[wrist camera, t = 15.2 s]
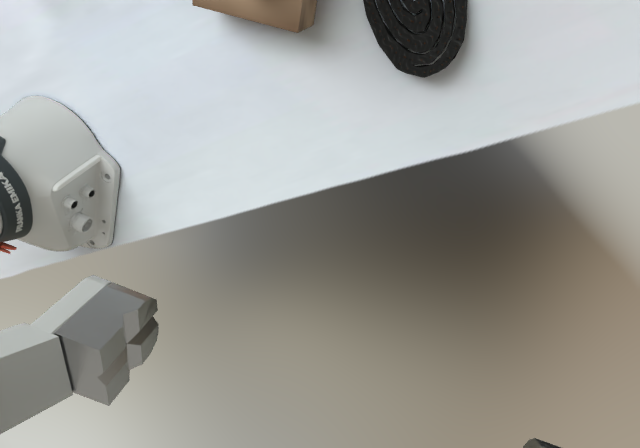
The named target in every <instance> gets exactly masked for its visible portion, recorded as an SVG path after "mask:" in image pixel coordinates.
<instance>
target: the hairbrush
mask: <svg viewBox="0 0 640 448" xmlns="http://www.w3.org/2000/svg"><path fill="white" fill-rule="evenodd" d="M363 1H364V6H365V11H366V16H367V18H368V21H369V23H370V25H371V28H372V30H373V33H374V35H375V37H376V40H377V42H378V44H379V46H380V47H381V48H382V50H383V51H384V52H385V54H386V55H387V56H388V58H389V59H390V60H391V62H392V63H393V64H394V66H395V67H396V68H397V69H398V70H400V71H402V72H405V73H407V74H412V75H416V76H420V77H424V78H425V77H427V76H430V75H432V74H435V73H437V72H439V71H440V70H442V69H444V68H446V67H447V66H448V65H449V64H450V62H451V61H452V60H453V59H454V58H455V57H456V55H457V53H458V51H459V49H460V47H461V45H462V43H463V41H464V35H465V27H466V21H467V0H455V8H456V17H457V18H456V26H455V29H454V32H453V36H452V39H451V41H450V43H449V45H448V47H447V49H446V51H445V52H444V53H443V54H442V56H441V57H440V58H439V59H438V60H437V61H436V62H435V63H433V64H430V65H420V66H415V65H417V64H429V63H431V62H433V61H434V60H435V59H436V58H437V57H438V56H439V55H440V54H441V53H442V52H443V50H444V49H445V47H446V45H447V43H448V41H449V39H450V37H451V35H452V31H453V24H454V16H455V8H454V0H444V2H445V25H444V29H443V31H442V34H441V30H442V25H443V21H444V11H443V1H442V0H431V1H432V21H431V23H430V25H429V27H428V30H427V31H426V32H425V33H422V34H416V33H412V32H411V31H410V30H412V31H413V32H423V31H424V30H425V29H426V28H427V26H428V24H429V22H430V19H431V3H430V0H415V1H414V0H413V1H414V2H413V1H412V0H402V1H403V2H404V4H405V5H406V7H407V9H408V10H409V11H408V10H407V9H406V8H405V7H404V6H403V7H404V8H405V9H404V8H403V7H402V3H401V2H400V0H390V3H391V6H392V8H393V10H394V11H395V13H396V14H397V16H398V17H399V19H400V20H401V22H402V23H403V24H402V23H401V22H400V21H399V20H398V19H397V17H396V16H395V15H394V12H392V11H393V10H391V9H392V8H391V6H390V4H389V2H388V0H376V1H377V5H378V8H377V7H376V3H375V0H363ZM377 9H379V11H380V13H381V15H382V17H383V19H384V21H385V23H386V24H387V26H388V28H389V29H388V28H387V26H386V25H385V23H384V22H383V20H382V18H381V16H380V13H379V11H378V10H377ZM422 10H424V11H423V12H422V13H420V14H419V15H415V16H414V15H412V14H411V13H410V12H412V13H418V12H420V11H422ZM405 26H406V27H405ZM408 28H409V29H410V30H409V29H408ZM440 34H441V37H440ZM394 37H395V38H396V39H397V40H398V41H399V42H401V43H402V44H403V45H404V46H405V47H404V46H403V45H401V44H400V43H399V42H397V40H396V39H395V38H394ZM439 38H440V40H439V42H438V44H437V46H436V47H435V48H434V49H433V50H432V51H430V52H429V53H427V54H420V53H422V52H426V51H428V50H430V49H432V48H433V47H434V45H435V43H436V42H437V41H438V39H439ZM408 49H410V50H413V51H416V52H419V53H414V52H411V51H410V50H408Z"/></svg>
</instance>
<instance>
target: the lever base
mask: <svg viewBox="0 0 640 448" xmlns="http://www.w3.org/2000/svg"><path fill="white" fill-rule="evenodd" d="M193 5H194V6H198V7H202V8H205V9H209V10H213V11H217V12H221V13H224V14H228V15H232V16H236V17H239V18H243V19H247V20H251V21H255V22H258V23H262V24H266V25H270V26H274V27H277V28H281V29H285V30H289V31H293V32H296V33H299V32H301V31H303V30H305V29H307V28H309V27H310V26H312V25H313V24H314V17H315V11H316V5H317V0H193Z"/></svg>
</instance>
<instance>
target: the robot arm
mask: <svg viewBox="0 0 640 448" xmlns="http://www.w3.org/2000/svg"><path fill="white" fill-rule="evenodd" d="M119 179H120V167H119V165H118V164H117V162H116V161H115V160H114V159H113V158H112V157H111V156H110V155H109V154H108V153H106V152H105V151H104V150H103V149H102V148H101V146H100V145H99V143H98V142H97V140H96V139H95V137H94V136H93V134H92V133H91V131H90V130H89V129H88V127H87V126H86V125H85V124H84V123H83V121H82V120H81V119H80V118H79V117H78V116H77V115H75V114H74V113H73V112H72V111H71V110H69V109H68V108H67V107H65V106H63V105H62V104H60V103H58V102H56V101H54V100H52V99H49V98H46V97H41V96H29V97H25V98H23V99H21V100H20V101H18V102H17V103H16V104H15V105H14V106H13V107H12V108H10V109H9V110H8V111H6V112H5V113H4V114H2V115H1V116H0V251H2V252H6V253H9V254H10V251H8V250H6V249H10V250H16V247H14V246H12V245H9V244H6V243H4V242H5V241H10V240H14V239H18V240H20V241H23V242H25V243H28V244H31V245H34V246H37V247H40V248H43V249H47V250H51V251H68V250H72V249H74V248H77V247H79V246H82V247H87V248H95V249H98V248H105V247H108V246H109V245H111V244H112V241H113V232H114V223H115V214H116V206H117V197H118V188H119ZM4 248H5V249H4ZM157 310H158V309H157V300H156V299H153V298H151V297H148V296H146V295H143V294H141V293H138V292H136V291H133V290H131V289H128V288H126V287H123V286H121V285H118V284H116V283H114V282H111V281H108V280H106V279H103V278H100V277H98V276H95V275H92V276H89V277H87V278H85V279H83V280H82V281H81V282H80V283H79V284H77V285H76V286H75V287H74V288H73V289H72V290H70V291H69V292H68V293H67V294H66V295H64V296H63V297H62V298H61V299H60V300H59V301H57V302H56V303H55V304H54V305H53V306H52V307H50V308H49V309H48V310H47V311H46V312H44V314H42V315H41V316H40V317H39V318H38V319H36V320H35V321H34V322H33V323H32V324H27V323H21V324H18V325H15V326H12V327H9V328H6V329H3V330H0V434H1V433H3V432H5V431H7V430H9V429H10V428H12V427H14V426H16V425H18V424H20V423H22V422H24V421H25V420H27V419H29V418H31V417H33V416H35V415H36V414H38V413H40V412H42V411H44V410H46V409H48V408H49V407H51V406H53V405H55V404H57V403H58V402H60V401H62V400H64V399H66V398H68V397H70V396H72V395H73V392H74V393H76V394H79V395H82V396H84V397H87V398H90V399H92V400H95V401H97V402H100V403H103V404H106V405H108V406H109V405H110V404H111V403H112V401H113V400H114V399H115V398H116V396H117V395H118V394H119V393H120V391H121V390H122V389H123V388H124V386H125V385H126V384H127V383H128V381H129V371H130V369H132V368H134V367H137V366H139V365H141V364H143V362H144V361H145V360H146V359H147V357H148V356H149V355H150V353H151V351H152V349H153V347H154V345H155V343H156V341H157V336H158V323H157V322H156V321H155V319H154V317H153V315H154V314H155V312H157ZM523 448H561V447H558V446H555V445H553V444H550V443H547V442H544V441H541V440H539V439H536V438H534V439H530V440H529V441H528V442H527V443H526V444H525V445H524V446H523Z"/></svg>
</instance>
